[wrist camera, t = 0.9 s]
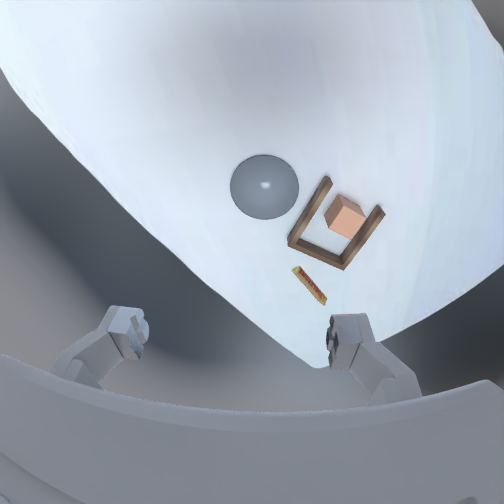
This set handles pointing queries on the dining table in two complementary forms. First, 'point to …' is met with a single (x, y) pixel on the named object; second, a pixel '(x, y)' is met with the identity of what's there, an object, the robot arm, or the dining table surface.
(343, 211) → the block
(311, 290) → the chocolate bar
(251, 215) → the plate
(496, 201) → the dining table surface
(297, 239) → the wooden u-shaped frame
